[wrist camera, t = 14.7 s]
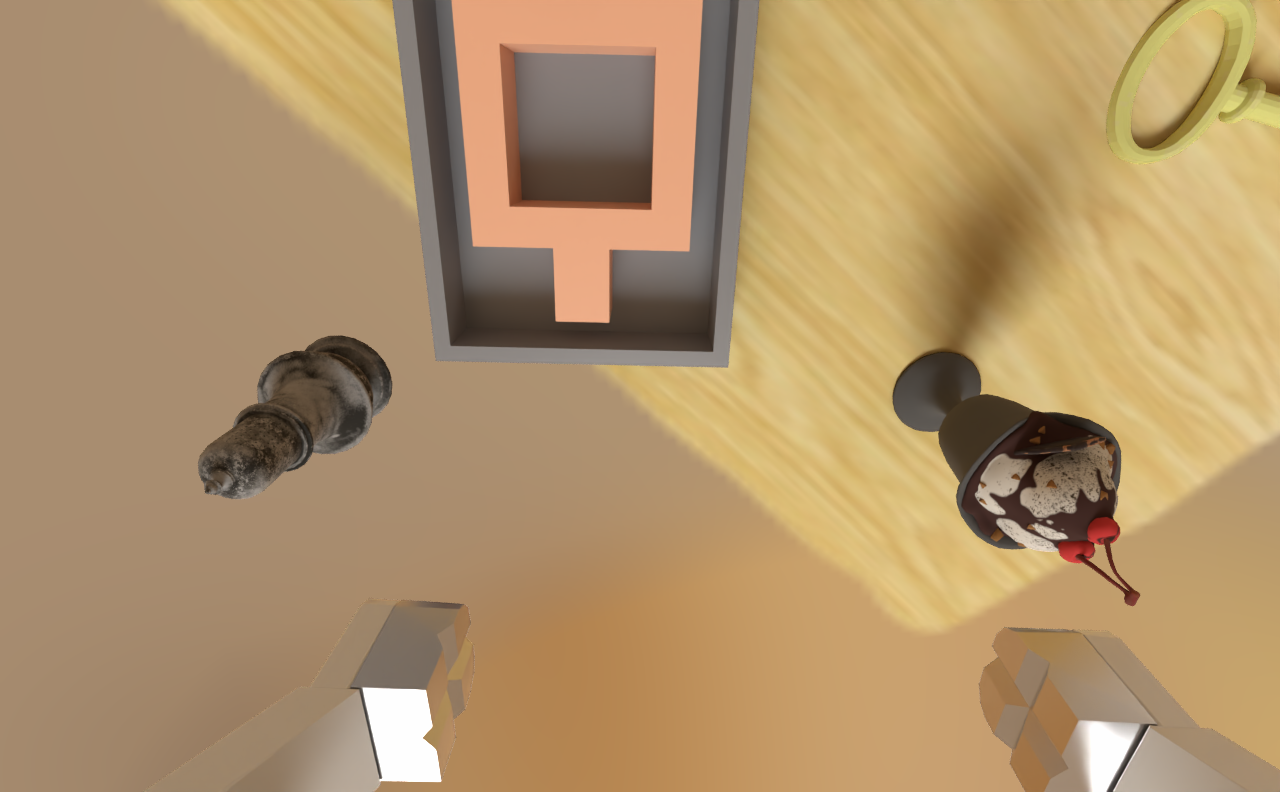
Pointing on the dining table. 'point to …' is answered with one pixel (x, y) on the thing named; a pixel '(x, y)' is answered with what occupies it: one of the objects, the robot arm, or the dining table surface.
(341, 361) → the salt shaker
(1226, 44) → the key
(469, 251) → the tray
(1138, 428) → the dining table surface
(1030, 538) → the sundae
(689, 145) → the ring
